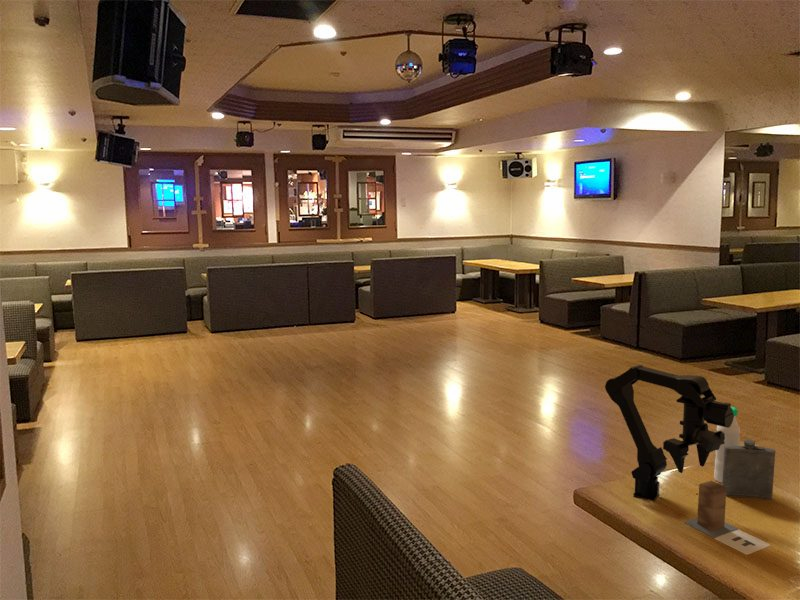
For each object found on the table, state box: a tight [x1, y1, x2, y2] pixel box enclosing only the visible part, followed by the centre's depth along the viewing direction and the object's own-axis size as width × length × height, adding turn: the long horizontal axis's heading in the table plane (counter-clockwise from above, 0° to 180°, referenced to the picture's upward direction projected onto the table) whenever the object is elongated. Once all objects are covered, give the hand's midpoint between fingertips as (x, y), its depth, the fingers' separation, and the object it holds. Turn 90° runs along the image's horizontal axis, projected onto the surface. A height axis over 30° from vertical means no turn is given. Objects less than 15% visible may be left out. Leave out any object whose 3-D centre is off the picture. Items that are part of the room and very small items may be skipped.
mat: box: [683, 516, 739, 539], centre depth 190 cm, size 10×10×1 cm
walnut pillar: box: [696, 480, 727, 531], centre depth 189 cm, size 5×5×12 cm
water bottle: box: [713, 406, 741, 484], centre depth 218 cm, size 7×7×25 cm
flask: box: [721, 439, 776, 501], centre depth 207 cm, size 4×14×18 cm, turn 75°
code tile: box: [713, 528, 771, 556], centre depth 181 cm, size 10×10×1 cm
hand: (691, 469), depth 198 cm, fingers open, 9 cm apart
